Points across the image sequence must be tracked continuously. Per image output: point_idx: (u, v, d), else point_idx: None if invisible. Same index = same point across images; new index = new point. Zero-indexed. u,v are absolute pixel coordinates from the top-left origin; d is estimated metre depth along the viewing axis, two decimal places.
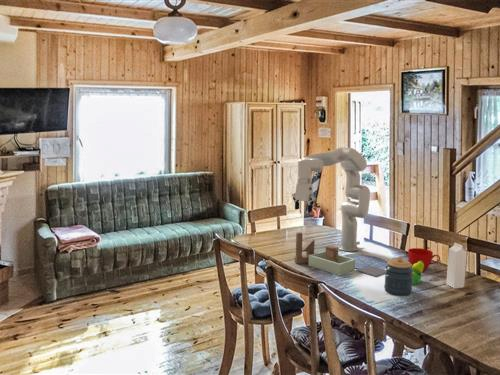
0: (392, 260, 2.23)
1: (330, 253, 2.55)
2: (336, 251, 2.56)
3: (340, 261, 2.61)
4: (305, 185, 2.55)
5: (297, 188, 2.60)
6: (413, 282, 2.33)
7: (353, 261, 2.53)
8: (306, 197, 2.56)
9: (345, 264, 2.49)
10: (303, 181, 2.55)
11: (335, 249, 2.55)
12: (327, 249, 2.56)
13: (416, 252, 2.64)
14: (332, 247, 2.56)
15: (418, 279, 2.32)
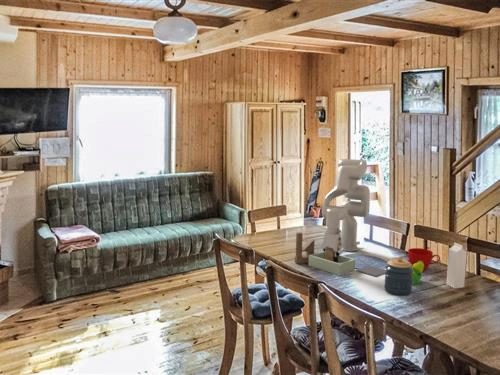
0: (392, 260, 2.23)
1: (330, 253, 2.55)
2: None
3: (340, 261, 2.61)
4: (334, 235, 2.52)
5: (325, 238, 2.57)
6: (413, 282, 2.33)
7: (353, 261, 2.53)
8: (335, 247, 2.53)
9: (345, 264, 2.49)
10: (332, 231, 2.52)
11: None
12: (327, 249, 2.56)
13: (416, 252, 2.64)
14: None
15: (418, 279, 2.32)
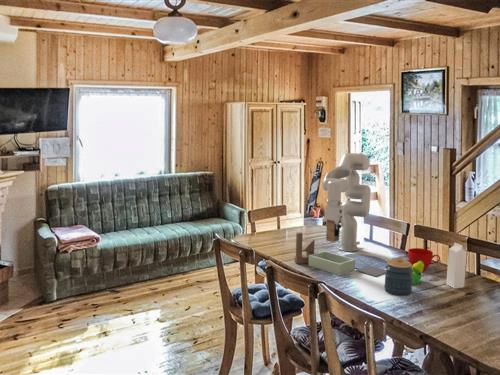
0: (392, 260, 2.23)
1: (331, 225, 2.53)
2: None
3: (340, 261, 2.61)
4: (335, 208, 2.50)
5: (326, 210, 2.55)
6: (413, 282, 2.33)
7: (353, 261, 2.53)
8: (336, 220, 2.51)
9: (345, 264, 2.49)
10: (333, 204, 2.50)
11: None
12: (328, 222, 2.54)
13: (416, 252, 2.64)
14: None
15: (418, 279, 2.32)
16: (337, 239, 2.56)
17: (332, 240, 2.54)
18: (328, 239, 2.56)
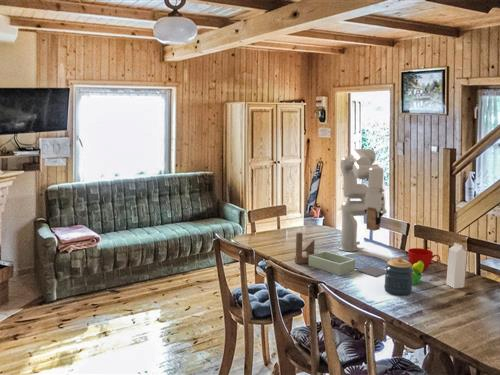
0: (392, 260, 2.23)
1: (372, 213, 2.46)
2: None
3: (340, 261, 2.61)
4: (377, 195, 2.43)
5: (367, 198, 2.47)
6: (413, 282, 2.33)
7: (353, 261, 2.53)
8: (378, 207, 2.43)
9: (345, 264, 2.49)
10: (375, 191, 2.43)
11: None
12: (369, 210, 2.47)
13: (416, 252, 2.64)
14: None
15: (418, 279, 2.32)
16: (378, 228, 2.48)
17: (373, 228, 2.46)
18: (368, 228, 2.48)
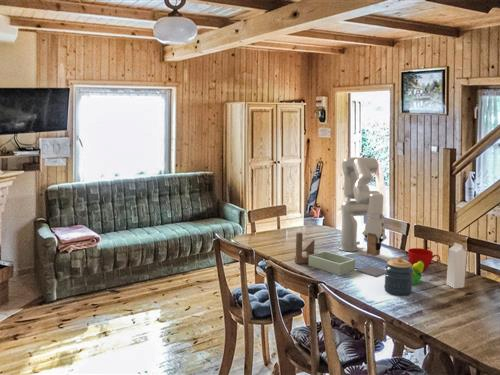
0: (392, 260, 2.23)
1: (372, 239, 2.48)
2: None
3: (340, 261, 2.61)
4: (377, 221, 2.45)
5: (367, 223, 2.49)
6: (413, 282, 2.33)
7: (353, 261, 2.53)
8: (378, 233, 2.45)
9: (345, 264, 2.49)
10: (375, 217, 2.44)
11: None
12: (369, 235, 2.49)
13: (416, 252, 2.64)
14: None
15: (418, 279, 2.32)
16: (379, 253, 2.50)
17: (373, 254, 2.48)
18: (369, 253, 2.50)
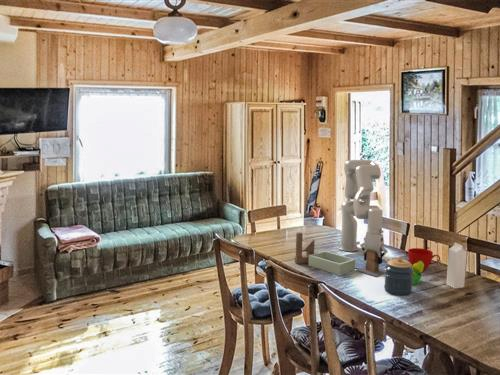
0: (392, 260, 2.23)
1: (371, 255, 2.49)
2: None
3: (340, 261, 2.61)
4: (376, 236, 2.46)
5: (367, 238, 2.51)
6: (413, 282, 2.33)
7: (353, 261, 2.53)
8: (377, 248, 2.46)
9: (345, 264, 2.49)
10: (374, 232, 2.46)
11: None
12: (368, 251, 2.50)
13: (416, 252, 2.64)
14: None
15: (418, 279, 2.32)
16: (377, 269, 2.52)
17: (372, 270, 2.50)
18: (368, 269, 2.52)
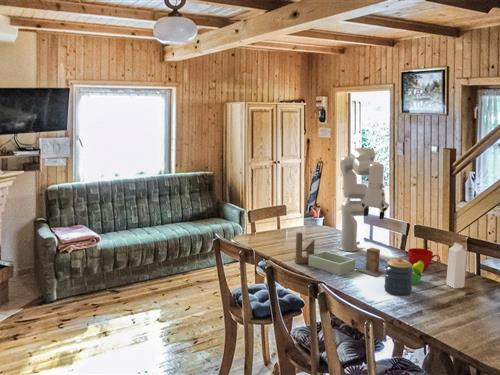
0: (392, 260, 2.23)
1: (371, 255, 2.49)
2: (378, 253, 2.50)
3: (340, 261, 2.61)
4: (377, 191, 2.43)
5: (367, 194, 2.48)
6: (413, 282, 2.33)
7: (353, 261, 2.53)
8: (378, 203, 2.44)
9: (345, 264, 2.49)
10: (375, 187, 2.43)
11: (377, 251, 2.49)
12: (368, 251, 2.50)
13: (416, 252, 2.64)
14: (373, 249, 2.50)
15: (418, 279, 2.32)
16: (377, 269, 2.52)
17: (372, 270, 2.50)
18: (368, 269, 2.52)
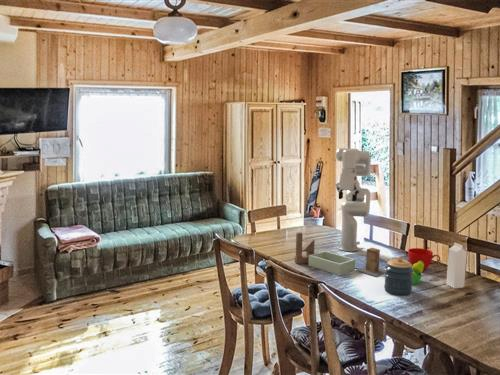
0: (392, 260, 2.23)
1: (371, 255, 2.49)
2: (378, 253, 2.50)
3: (340, 261, 2.61)
4: (350, 175, 2.62)
5: (341, 178, 2.67)
6: (413, 282, 2.33)
7: (353, 261, 2.53)
8: (351, 186, 2.63)
9: (345, 264, 2.49)
10: (348, 171, 2.62)
11: (377, 251, 2.49)
12: (368, 251, 2.50)
13: (416, 252, 2.64)
14: (373, 249, 2.50)
15: (418, 279, 2.32)
16: (377, 269, 2.52)
17: (372, 270, 2.50)
18: (368, 269, 2.52)
